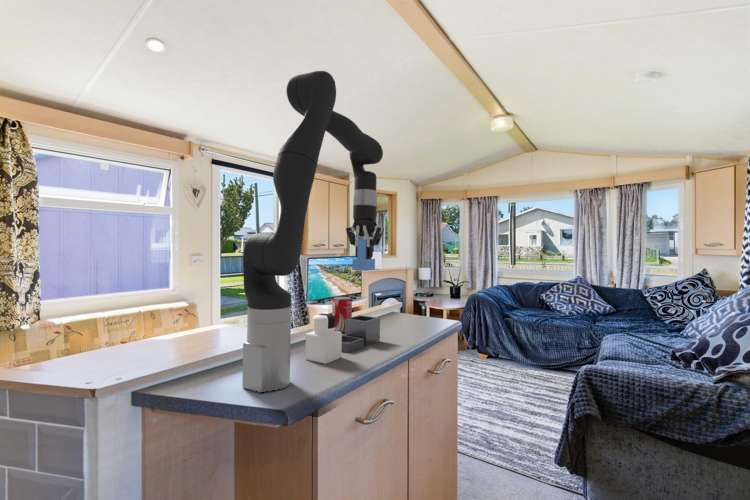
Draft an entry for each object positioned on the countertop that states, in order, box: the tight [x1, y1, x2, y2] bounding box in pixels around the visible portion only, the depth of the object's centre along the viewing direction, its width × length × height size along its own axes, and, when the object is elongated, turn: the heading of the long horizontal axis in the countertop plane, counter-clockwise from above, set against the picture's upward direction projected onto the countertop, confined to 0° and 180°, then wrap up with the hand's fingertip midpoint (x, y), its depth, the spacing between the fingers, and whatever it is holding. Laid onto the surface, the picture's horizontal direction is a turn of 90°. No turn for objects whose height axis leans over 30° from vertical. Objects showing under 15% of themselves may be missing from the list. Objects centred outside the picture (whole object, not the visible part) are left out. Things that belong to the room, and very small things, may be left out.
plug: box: [352, 238, 376, 272], centre depth 124 cm, size 5×5×10 cm
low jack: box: [341, 334, 365, 354], centre depth 116 cm, size 8×8×2 cm
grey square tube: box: [344, 314, 381, 347], centre depth 124 cm, size 8×8×8 cm
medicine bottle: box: [304, 313, 343, 365], centre depth 105 cm, size 7×7×12 cm
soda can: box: [331, 296, 353, 333], centre depth 139 cm, size 7×7×12 cm
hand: (364, 258), depth 124 cm, fingers closed on plug, 3 cm apart
